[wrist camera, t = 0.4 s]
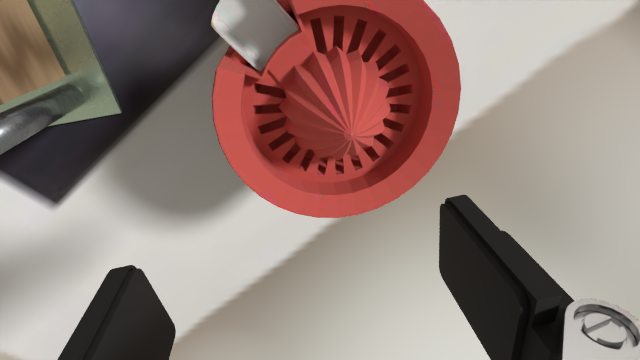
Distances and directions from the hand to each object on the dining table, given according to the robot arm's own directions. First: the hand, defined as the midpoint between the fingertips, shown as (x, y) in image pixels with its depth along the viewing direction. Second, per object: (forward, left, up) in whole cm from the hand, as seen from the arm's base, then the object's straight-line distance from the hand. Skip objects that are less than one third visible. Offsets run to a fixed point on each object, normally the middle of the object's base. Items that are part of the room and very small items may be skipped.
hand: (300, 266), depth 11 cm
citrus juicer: (-1, +3, -29) cm, 29 cm away
